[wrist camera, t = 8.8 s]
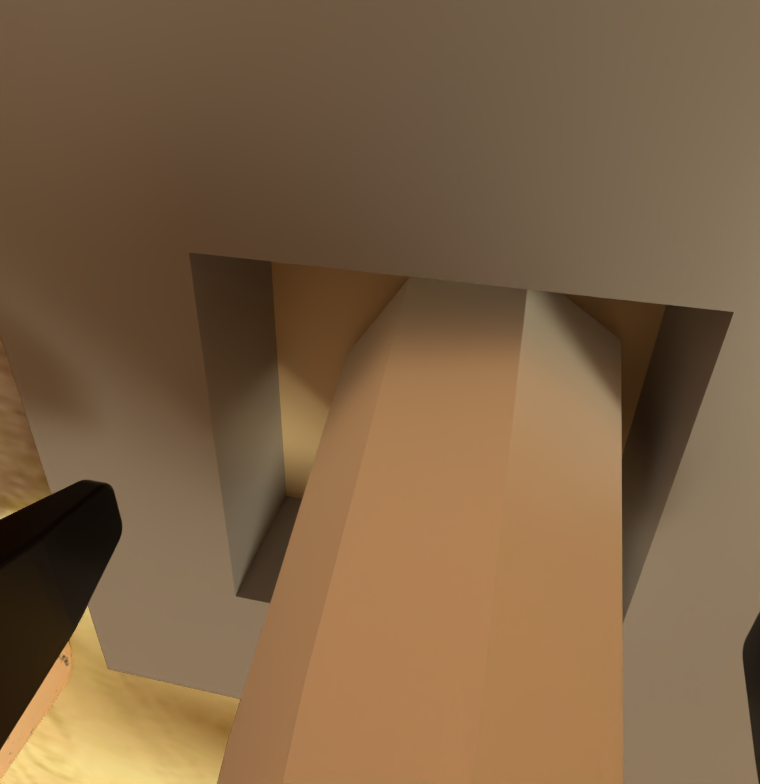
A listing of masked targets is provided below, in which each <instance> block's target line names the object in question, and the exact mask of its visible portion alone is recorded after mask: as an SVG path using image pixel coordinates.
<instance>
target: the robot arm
mask: <svg viewBox="0 0 760 784" xmlns="http://www.w3.org/2000/svg"><path fill="white" fill-rule="evenodd" d="M121 534H122V519H121V516H120V512H119V508H118V504H117V500H116V496H115V492H114V489H113V487H112V486H111V485H110V484H108V483H105V482H99V481H94V480H80V481H78V482H76V483H74V484H72V485H70V486H68V487H66V488H64V489H62V490H60V491H57V492H55V493H53V494H51V495H49V496H47V497H45V498H43V499H41V500H39V501H37V502H35V503H33V504H31V505H29V506H27V507H25V508H23V509H21V510H19V511H17V512H15V513H13V514H11V515H9V516H6V517H4V518H2V519H0V750H1V749H2V747H3V745H4V744H5V742H6V741H7V739H8V737H9V736H10V734H11V733H12V731H13V729H14V728H15V726H16V725H17V723H18V721H19V720H20V718H21V716H22V715H23V713H24V712H25V710H26V708H27V707H28V705H29V704H30V702H31V700H32V699H33V697H34V696H35V694H36V692H37V691H38V689H39V688H40V686H41V684H42V683H43V681H44V680H45V678H46V676H47V675H48V673H49V672H50V670H51V668H52V667H53V665H54V664H55V662H56V660H57V659H58V657H59V656H60V654H61V652H62V651H63V649H64V648H65V646H66V644H67V643H68V641H69V639H70V637H71V636H72V634H73V632H74V631H75V629H76V627H77V625H78V623H79V621H80V619H81V618H82V616H83V614H84V612H85V610H86V608H87V605H88V603H89V601H90V599H91V597H92V595H93V593H94V591H95V589H96V587H97V585H98V583H99V581H100V579H101V577H102V575H103V573H104V571H105V569H106V567H107V565H108V563H109V561H110V559H111V557H112V555H113V553H114V551H115V549H116V547H117V544H118V542H119V540H120V538H121ZM742 658H743V667H744V675H745V683H746V692H747V700H748V708H749V716H750V724H751V732H752V740H753V748H754V756H755V763H756V770H757V777H758V783H759V784H760V612H759V614H758V616H757V617H756V619H755V621H754V623H753V625H752V627H751V629H750V631H749V633H748V635H747V637H746V639H745V641H744V645H743V651H742Z"/></svg>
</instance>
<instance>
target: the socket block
mask: <svg viewBox="0 0 760 784" xmlns="http://www.w3.org/2000/svg"><path fill="white" fill-rule="evenodd" d="M412 277H418V278H427V279H436V280H446V281H455V282H464V283H473V284H482V285H491V286H500V287H510V288H519V289H528V290H537V291H546V292H555V293H563V294H564V295H565V296H566V297H568V298H569V299H570V300H571V301H573V302H574V303H575V304H576V305H578V306H579V307H580V308H581V309H583V310H584V311H585V312H586V313H588V314H589V315H590V316H591V317H593V318H594V319H595V320H596V321H598V322H599V323H600V324H601V325H603V326H604V327H605V328H606V329H608V330H609V331H610V332H611V333H613V334H614V335H615V336H616V337H618V338H619V339H620V340H621V407H622V640H623V784H759V783H758V777H757V770H756V763H755V756H754V748H753V740H752V732H751V724H750V716H749V708H748V700H747V692H746V683H745V675H744V667H743V658H742V651H743V645H744V641H745V639H746V637H747V635H748V633H749V631H750V629H751V627H752V625H753V623H754V621H755V619H756V617H757V616H758V614H759V612H760V0H0V336H1V339H2V342H3V345H4V348H5V351H6V354H7V358H8V361H9V364H10V367H11V370H12V373H13V376H14V379H15V382H16V385H17V389H18V392H19V395H20V398H21V401H22V404H23V407H24V410H25V413H26V416H27V419H28V423H29V426H30V429H31V432H32V435H33V438H34V441H35V444H36V447H37V450H38V454H39V457H40V460H41V463H42V466H43V469H44V472H45V475H46V478H47V481H48V484H49V488H50V491H51V494H53V493H55V492H57V491H60V490H62V489H64V488H66V487H68V486H70V485H72V484H74V483H76V482H78V481H80V480H94V481H99V482H105V483H108V484H110V485H111V486H112V487H113V489H114V492H115V496H116V500H117V504H118V508H119V512H120V516H121V519H122V534H121V538H120V540H119V542H118V544H117V547H116V549H115V551H114V553H113V555H112V557H111V559H110V561H109V563H108V565H107V567H106V569H105V571H104V573H103V575H102V577H101V579H100V581H99V583H98V585H97V587H96V589H95V591H94V593H93V595H92V597H91V599H90V601H89V603H88V608H89V611H90V615H91V618H92V621H93V624H94V627H95V630H96V633H97V636H98V639H99V642H100V645H101V649H102V652H103V655H104V658H105V661H106V664H107V667H108V669H110V670H115V671H119V672H123V673H128V674H132V675H137V676H141V677H145V678H150V679H154V680H159V681H163V682H167V683H172V684H176V685H181V686H185V687H189V688H194V689H198V690H203V691H207V692H211V693H216V694H220V695H225V696H229V697H233V698H238V699H241V697H242V694H243V690H244V687H245V684H246V681H247V677H248V674H249V671H250V667H251V664H252V661H253V658H254V654H255V651H256V648H257V645H258V641H259V638H260V635H261V632H262V628H263V625H264V622H265V619H266V615H267V612H268V609H269V606H270V602H271V599H272V596H273V593H274V589H275V586H276V583H277V580H278V576H279V573H280V570H281V566H282V563H283V560H284V557H285V553H286V550H287V547H288V544H289V540H290V537H291V534H292V531H293V527H294V524H295V521H296V518H297V514H298V511H299V508H300V505H301V501H302V498H303V495H304V492H305V488H306V485H307V482H308V478H309V475H310V472H311V469H312V465H313V462H314V459H315V456H316V452H317V449H318V446H319V443H320V439H321V436H322V433H323V430H324V426H325V423H326V420H327V417H328V413H329V410H330V407H331V404H332V400H333V397H334V394H335V391H336V387H337V384H338V381H339V377H340V374H341V371H342V368H343V364H344V361H345V358H346V355H347V354H348V353H349V351H350V350H351V349H352V348H353V347H354V345H355V344H356V343H357V342H358V340H359V339H360V338H361V337H362V335H363V334H364V333H365V332H366V330H367V329H368V328H369V327H370V326H371V324H372V323H373V322H374V321H375V319H376V318H377V317H378V316H379V314H380V313H381V312H382V311H383V309H384V308H385V307H386V306H387V305H388V303H389V302H390V301H391V300H392V298H393V297H394V296H395V295H396V293H397V292H398V291H399V290H400V288H401V287H402V286H403V285H404V283H405V282H406V281H407V280H408V279H409V278H412Z"/></svg>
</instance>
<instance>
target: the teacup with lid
mask: <svg viewBox="0 0 760 784" xmlns="http://www.w3.org/2000/svg"><path fill="white" fill-rule="evenodd" d="M71 669H72V653H71V648H70V644H69V641H68V643H67V644H66V646H65V648H64V649H63V651H62V652H61V654H60V656H59V657H58V659H57V660H56V662H55V664H54V665H53V667H52V668H51V670H50V672H49V673H48V675H47V676H46V678H45V680H44V681H43V683H42V684H41V686H40V688H39V689H38V691H37V692H36V694H35V696H34V697H33V699H32V700H31V702H30V704H29V705H28V707H27V708H26V710H25V712H24V713H23V715H22V716H21V718H20V720H19V721H18V723H17V725H16V726H15V728H14V729H13V731H12V733H11V734H10V736H9V737H8V739H7V741H6V742H5V744H4V745H3V747H2V749H1V750H0V780H1V779H2V777H3V776H4V774H5V773H6V772H7V770H8V769H9V767H10V766H11V764H12V763H13V761H14V760H15V758H16V757H17V755H18V754H19V753H20V751H21V750H22V748H23V747H24V745H25V744H26V742H27V741H28V739H29V738H30V736H31V735H32V734H33V732H34V731H35V729H36V728H37V726H38V725H39V723H40V722H41V720H42V719H43V717H44V716H45V715H46V713H47V712H48V710H49V709H50V707H51V706H52V704H53V703H54V701H55V700H56V699H57V697H58V696H59V694H60V693H61V691H62V690H63V688H64V687H65V685H66V684H67V682H68V680H69V677H70V674H71Z"/></svg>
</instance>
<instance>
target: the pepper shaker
mask: <svg viewBox="0 0 760 784" xmlns="http://www.w3.org/2000/svg"><path fill="white" fill-rule="evenodd" d="M217 784H623V640H622V407H621V340H620V339H619V338H618V337H616V336H615V335H614V334H613V333H611V332H610V331H609V330H608V329H606V328H605V327H604V326H603V325H601V324H600V323H599V322H598V321H596V320H595V319H594V318H593V317H591V316H590V315H589V314H588V313H586V312H585V311H584V310H583V309H581V308H580V307H579V306H578V305H576V304H575V303H574V302H573V301H571V300H570V299H569V298H568V297H566V296H565V295H564V294H563V293H555V292H546V291H537V290H528V289H519V288H510V287H500V286H491V285H482V284H473V283H464V282H455V281H446V280H436V279H427V278H418V277H412V278H409V279H408V280H407V281H406V282H405V283H404V285H403V286H402V287H401V288H400V290H399V291H398V292H397V293H396V295H395V296H394V297H393V298H392V300H391V301H390V302H389V303H388V305H387V306H386V307H385V308H384V309H383V311H382V312H381V313H380V314H379V316H378V317H377V318H376V319H375V321H374V322H373V323H372V324H371V326H370V327H369V328H368V329H367V330H366V332H365V333H364V334H363V335H362V337H361V338H360V339H359V340H358V342H357V343H356V344H355V345H354V347H353V348H352V349H351V350H350V351H349V353H348V354H347V355H346V358H345V361H344V364H343V368H342V371H341V374H340V377H339V381H338V384H337V387H336V391H335V394H334V397H333V400H332V404H331V407H330V410H329V413H328V417H327V420H326V423H325V426H324V430H323V433H322V436H321V439H320V443H319V446H318V449H317V452H316V456H315V459H314V462H313V465H312V469H311V472H310V475H309V478H308V482H307V485H306V488H305V492H304V495H303V498H302V501H301V505H300V508H299V511H298V514H297V518H296V521H295V524H294V527H293V531H292V534H291V537H290V540H289V544H288V547H287V550H286V553H285V557H284V560H283V563H282V566H281V570H280V573H279V576H278V580H277V583H276V586H275V589H274V593H273V596H272V599H271V602H270V606H269V609H268V612H267V615H266V619H265V622H264V625H263V628H262V632H261V635H260V638H259V641H258V645H257V648H256V651H255V654H254V658H253V661H252V664H251V667H250V671H249V674H248V677H247V681H246V684H245V687H244V690H243V694H242V697H241V700H240V703H239V707H238V710H237V713H236V716H235V720H234V723H233V726H232V729H231V733H230V736H229V739H228V742H227V746H226V750H225V754H224V758H223V762H222V766H221V770H220V774H219V778H218V782H217Z"/></svg>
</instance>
